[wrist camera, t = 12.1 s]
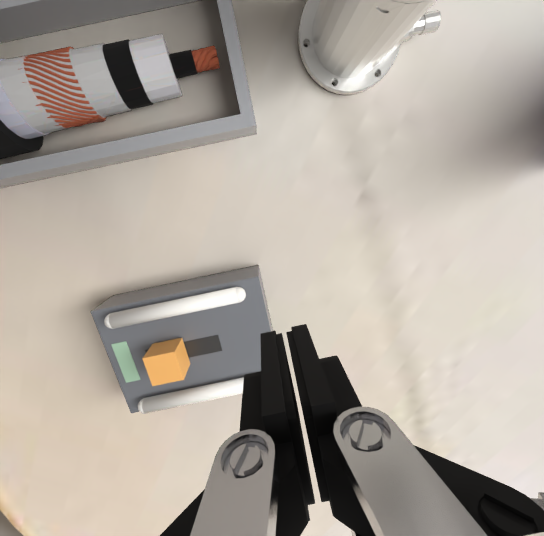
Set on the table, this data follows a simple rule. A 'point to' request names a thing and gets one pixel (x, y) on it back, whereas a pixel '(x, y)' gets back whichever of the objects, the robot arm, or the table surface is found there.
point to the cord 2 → (191, 396)
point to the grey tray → (105, 6)
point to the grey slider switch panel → (189, 334)
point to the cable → (88, 86)
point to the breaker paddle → (166, 362)
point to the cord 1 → (175, 307)
